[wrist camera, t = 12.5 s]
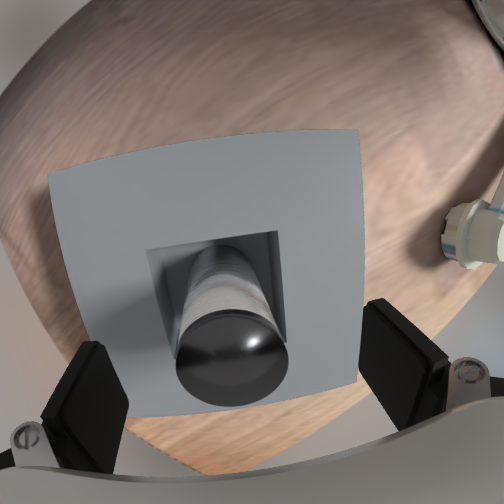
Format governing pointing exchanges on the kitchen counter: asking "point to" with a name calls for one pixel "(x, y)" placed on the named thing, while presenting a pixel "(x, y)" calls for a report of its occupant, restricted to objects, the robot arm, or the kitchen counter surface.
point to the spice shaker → (228, 332)
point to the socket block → (218, 233)
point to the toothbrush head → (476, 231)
